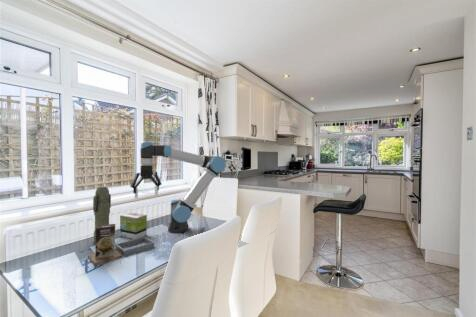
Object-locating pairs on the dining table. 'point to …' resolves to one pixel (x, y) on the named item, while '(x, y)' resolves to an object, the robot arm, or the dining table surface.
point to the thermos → (101, 207)
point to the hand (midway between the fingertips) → (146, 196)
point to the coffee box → (105, 241)
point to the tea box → (133, 225)
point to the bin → (120, 247)
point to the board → (105, 259)
